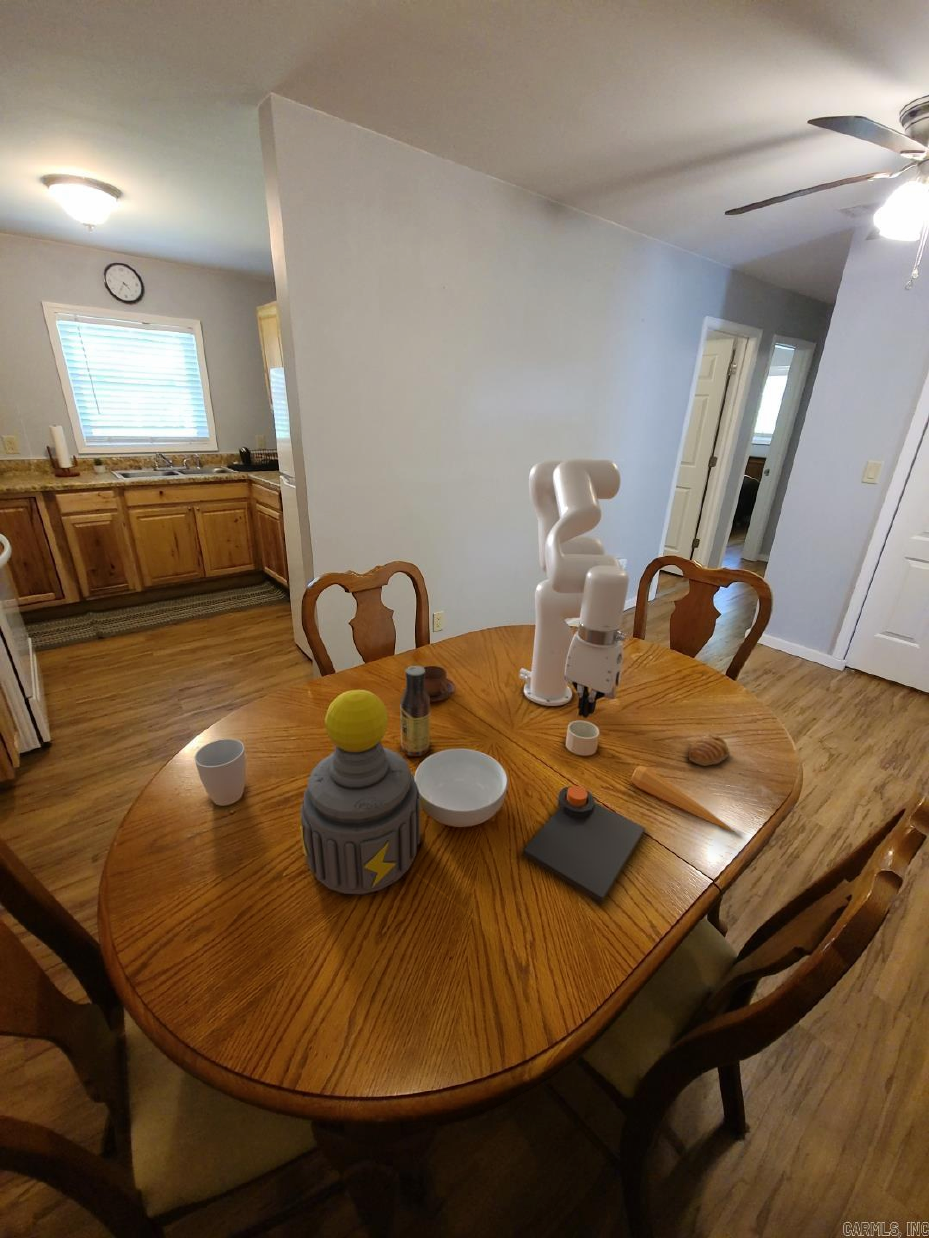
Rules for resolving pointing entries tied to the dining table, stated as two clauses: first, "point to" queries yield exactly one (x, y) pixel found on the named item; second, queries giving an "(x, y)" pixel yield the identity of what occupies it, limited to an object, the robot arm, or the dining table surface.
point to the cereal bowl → (461, 787)
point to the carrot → (671, 794)
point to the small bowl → (582, 738)
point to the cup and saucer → (437, 683)
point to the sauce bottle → (415, 713)
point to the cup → (222, 770)
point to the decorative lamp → (360, 802)
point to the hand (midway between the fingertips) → (585, 713)
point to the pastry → (708, 750)
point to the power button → (577, 796)
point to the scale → (585, 845)
